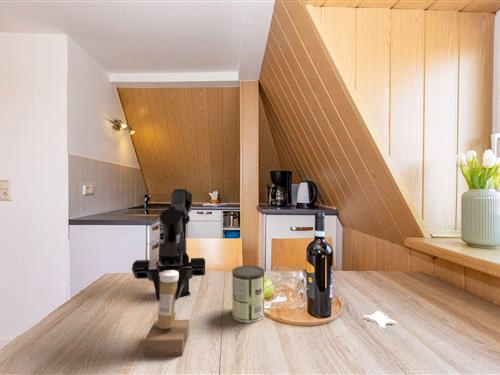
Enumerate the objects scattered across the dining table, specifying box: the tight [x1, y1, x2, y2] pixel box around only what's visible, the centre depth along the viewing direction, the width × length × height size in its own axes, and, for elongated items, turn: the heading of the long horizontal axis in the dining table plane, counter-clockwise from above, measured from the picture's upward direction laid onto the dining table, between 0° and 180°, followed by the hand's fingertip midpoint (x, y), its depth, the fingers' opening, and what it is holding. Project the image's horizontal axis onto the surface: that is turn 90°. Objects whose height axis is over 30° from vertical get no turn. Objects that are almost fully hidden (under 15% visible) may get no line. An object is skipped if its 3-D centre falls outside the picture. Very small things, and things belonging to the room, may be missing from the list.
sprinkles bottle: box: [157, 270, 179, 329], centre depth 67 cm, size 5×5×13 cm
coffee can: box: [231, 265, 266, 324], centre depth 83 cm, size 10×10×14 cm
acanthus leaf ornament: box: [361, 310, 399, 329], centre depth 79 cm, size 8×7×2 cm
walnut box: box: [143, 319, 190, 358], centre depth 67 cm, size 9×9×4 cm
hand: (167, 299), depth 65 cm, fingers closed on sprinkles bottle, 4 cm apart
